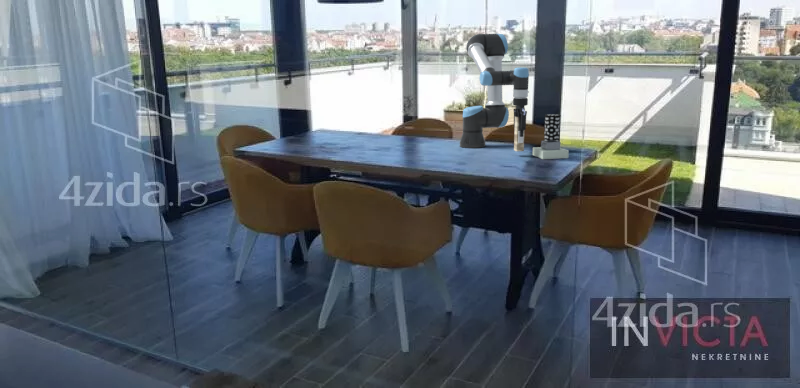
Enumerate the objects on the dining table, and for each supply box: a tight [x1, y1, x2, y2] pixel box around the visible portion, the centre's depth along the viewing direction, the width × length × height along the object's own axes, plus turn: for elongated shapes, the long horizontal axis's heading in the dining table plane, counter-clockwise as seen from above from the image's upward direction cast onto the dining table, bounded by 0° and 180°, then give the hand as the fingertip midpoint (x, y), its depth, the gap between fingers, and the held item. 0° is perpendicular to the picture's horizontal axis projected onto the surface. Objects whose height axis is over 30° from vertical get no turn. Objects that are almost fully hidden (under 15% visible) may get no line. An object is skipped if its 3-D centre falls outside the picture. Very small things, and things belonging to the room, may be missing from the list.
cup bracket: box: [540, 140, 561, 150], centre depth 327 cm, size 8×8×4 cm
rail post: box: [513, 117, 525, 152], centre depth 329 cm, size 4×4×18 cm
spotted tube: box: [543, 113, 562, 143], centre depth 343 cm, size 8×8×20 cm
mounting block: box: [532, 146, 570, 160], centre depth 328 cm, size 14×14×4 cm
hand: (519, 141), depth 330 cm, fingers closed on rail post, 4 cm apart
